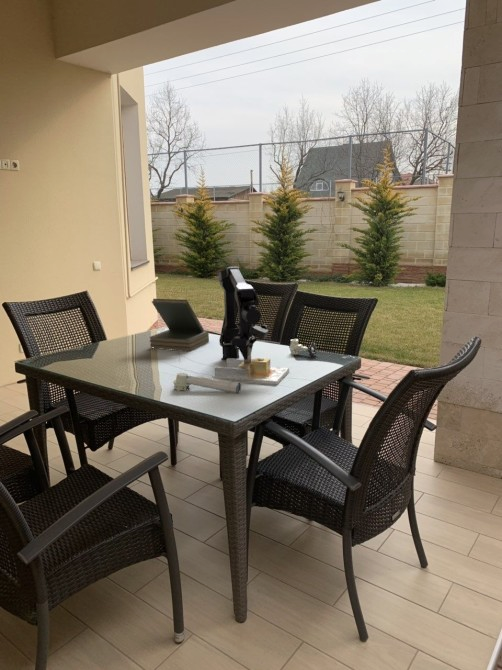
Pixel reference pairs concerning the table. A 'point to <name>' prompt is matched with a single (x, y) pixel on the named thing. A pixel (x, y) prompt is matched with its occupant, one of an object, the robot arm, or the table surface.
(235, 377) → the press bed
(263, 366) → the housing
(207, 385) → the beige flashlight
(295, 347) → the valve
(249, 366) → the ram
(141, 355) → the table surface
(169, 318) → the hinged lid box
